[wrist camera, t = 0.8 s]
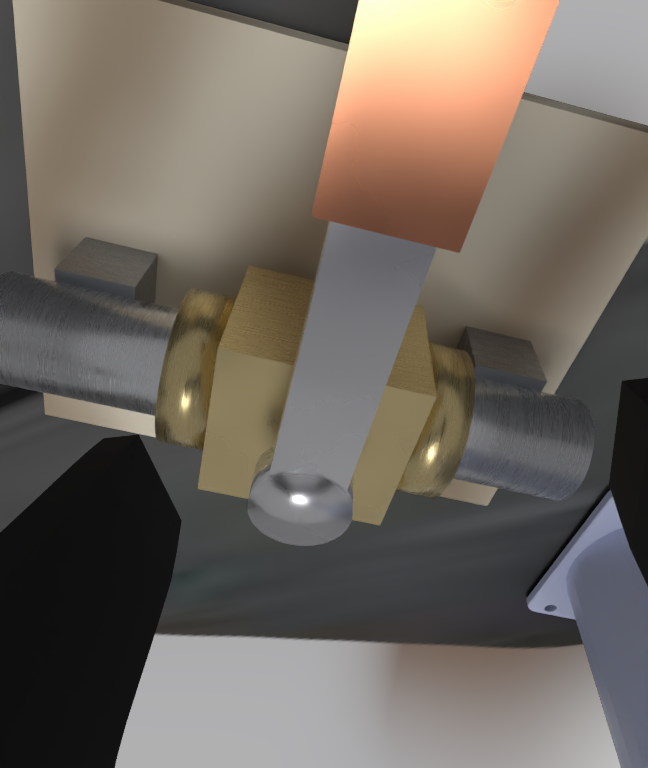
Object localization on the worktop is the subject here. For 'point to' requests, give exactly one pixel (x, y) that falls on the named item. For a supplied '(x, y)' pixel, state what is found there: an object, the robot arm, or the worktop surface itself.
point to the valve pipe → (285, 380)
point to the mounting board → (297, 177)
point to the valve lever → (388, 227)
